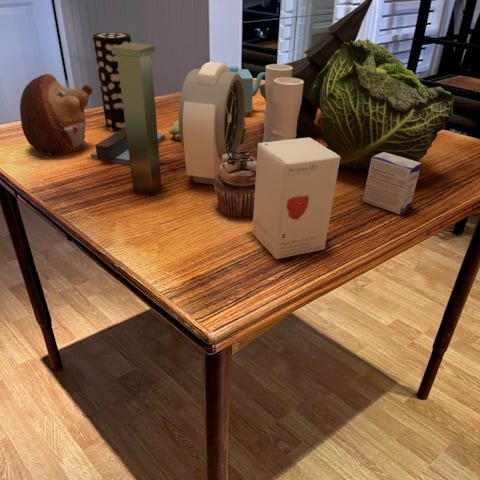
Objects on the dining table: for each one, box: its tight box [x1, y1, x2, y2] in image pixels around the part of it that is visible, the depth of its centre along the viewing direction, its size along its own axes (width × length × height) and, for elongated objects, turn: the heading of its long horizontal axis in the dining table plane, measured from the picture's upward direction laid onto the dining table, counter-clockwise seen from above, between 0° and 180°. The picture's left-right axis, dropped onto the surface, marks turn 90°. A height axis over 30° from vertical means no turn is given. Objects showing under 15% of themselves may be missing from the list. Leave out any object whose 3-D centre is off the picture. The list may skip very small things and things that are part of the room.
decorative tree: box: [259, 0, 373, 139], centre depth 110 cm, size 15×15×35 cm
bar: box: [94, 127, 128, 162], centre depth 105 cm, size 22×3×3 cm, turn 162°
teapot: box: [228, 65, 266, 117], centre depth 128 cm, size 16×18×11 cm
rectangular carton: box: [251, 137, 340, 260], centre depth 71 cm, size 9×9×15 cm
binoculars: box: [262, 63, 304, 143], centre depth 95 cm, size 17×5×18 cm, turn 5°
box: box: [362, 152, 422, 215], centre depth 85 cm, size 8×4×9 cm, turn 47°
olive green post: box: [112, 42, 163, 196], centre depth 82 cm, size 5×5×24 cm
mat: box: [90, 132, 166, 165], centre depth 107 cm, size 18×9×1 cm, turn 162°
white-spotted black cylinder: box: [92, 31, 132, 133], centre depth 112 cm, size 8×8×20 cm
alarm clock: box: [178, 61, 246, 186], centre depth 90 cm, size 18×8×20 cm, turn 164°
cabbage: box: [310, 37, 455, 170], centre depth 96 cm, size 25×24×23 cm
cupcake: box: [213, 150, 257, 219], centre depth 82 cm, size 10×10×10 cm
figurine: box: [19, 73, 94, 156], centre depth 101 cm, size 14×16×15 cm
